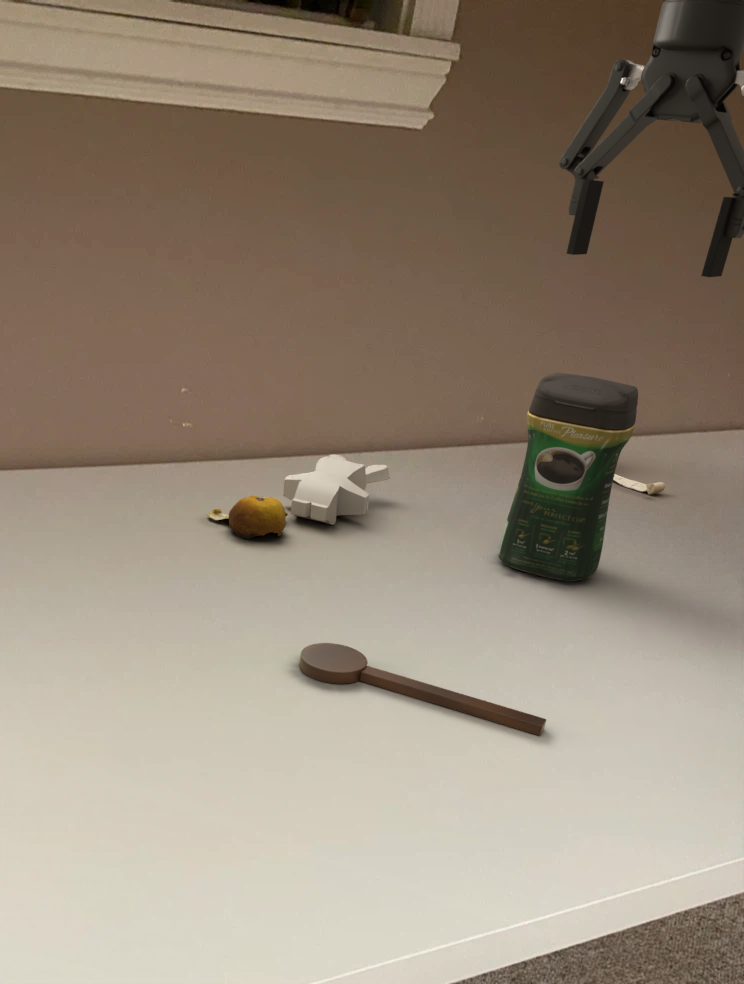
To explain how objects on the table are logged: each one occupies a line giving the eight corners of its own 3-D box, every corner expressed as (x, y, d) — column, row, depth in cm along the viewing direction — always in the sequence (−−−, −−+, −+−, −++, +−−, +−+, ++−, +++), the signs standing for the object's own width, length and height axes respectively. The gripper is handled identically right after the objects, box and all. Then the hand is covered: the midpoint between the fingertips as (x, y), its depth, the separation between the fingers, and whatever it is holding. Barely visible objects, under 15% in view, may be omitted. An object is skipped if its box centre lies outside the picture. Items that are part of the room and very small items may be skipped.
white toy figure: (268, 479, 114) (323, 435, 125) (265, 525, 117) (319, 477, 128) (353, 499, 111) (402, 451, 122) (348, 545, 114) (396, 494, 125)
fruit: (279, 514, 117) (283, 481, 116) (304, 542, 110) (308, 507, 109) (204, 514, 115) (207, 480, 114) (224, 543, 108) (228, 507, 107)
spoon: (550, 718, 82) (553, 706, 81) (533, 747, 77) (536, 734, 77) (315, 648, 89) (316, 636, 88) (288, 671, 85) (289, 659, 84)
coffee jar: (603, 568, 111) (654, 381, 102) (582, 591, 105) (635, 394, 96) (510, 544, 115) (552, 362, 106) (485, 565, 109) (527, 374, 100)
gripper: (557, -9, 99) (506, 246, 109) (849, -7, 84) (757, 288, 94) (597, 1, 104) (544, 245, 114) (879, 5, 89) (789, 284, 99)
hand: (641, 265), depth 104 cm, fingers open, 13 cm apart
